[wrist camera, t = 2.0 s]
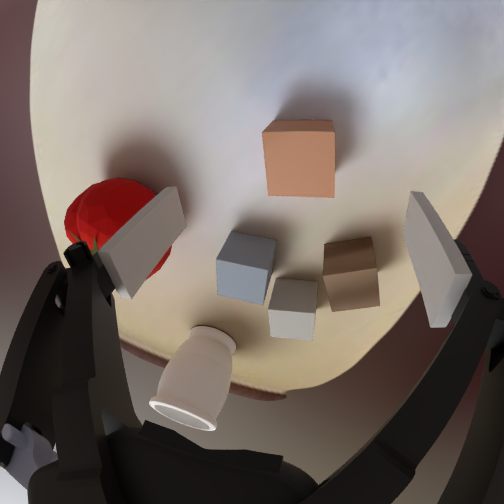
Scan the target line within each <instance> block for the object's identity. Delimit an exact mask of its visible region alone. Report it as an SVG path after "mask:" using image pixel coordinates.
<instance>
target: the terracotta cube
mask: <svg viewBox="0 0 504 504" xmlns="http://www.w3.org/2000/svg"><path fill="white" fill-rule="evenodd" d="M262 138H263V148H264V158H265V168H266V178H267V189H268V196H300V197H328V198H334V190H335V131H334V126H333V122H332V120H275V121H272V122H271V123H270V124H269V125H268V127H267V128H266V129H265V130H264V131H263V132H262Z"/></svg>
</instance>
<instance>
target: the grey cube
mask: <svg viewBox="0 0 504 504" xmlns="http://www.w3.org/2000/svg"><path fill="white" fill-rule="evenodd" d="M317 292H318V281H306V280H291V279H278V278H276V280H275V284H274V288H273V292H272V296H271V300H270V303H269V307H268V315H269V325H270V335H271V337H278V338H288V339H298V340H310V341H313V333H314V324H315V315H316V304H317Z"/></svg>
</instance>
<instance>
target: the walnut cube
mask: <svg viewBox="0 0 504 504" xmlns="http://www.w3.org/2000/svg"><path fill="white" fill-rule="evenodd" d="M323 279H324V283H325V286H326V290H327V294H328V298H329V302H330V306H331V310H332V312H336V311H344V310H353V309H360V308H368V307H375V306H380V299H379V285H378V274H377V265H376V260H375V254H374V249H373V244H372V239H371V237H365V238H359V239H353V240H347V241H341V242H335V243H329V244H324V263H323Z"/></svg>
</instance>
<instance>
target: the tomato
mask: <svg viewBox="0 0 504 504" xmlns="http://www.w3.org/2000/svg"><path fill="white" fill-rule="evenodd" d="M155 196H156V195H155V194H154V193H153V191H151V190H150V189H149V188H147V187H146V186H144V185H142V184H140V183H138V182H136V181H132V180H127V179H123V178H115V179H109V180H105V181H102V182H100V183H96V184H93V185H91V186H90V187H89V188H88V189H86V190H85V191H84V192H83V193H82V194H80V195H79V196H78V197H77V198H76V199H75V200H74V201H73V203H72V204H71V205H70V206H69V208H68V209H67V212H66V216H65V220H64V225H65V230H66V235H67V237H68V238H69V240H70V241H71V242H72V243H73V244H74V243H76V242H79V241H86V243H87V245H88V247H89V249H90V251H91V253H92V256H93V255H94V254H95V253H96V252H97V251H98V250H99V249H100V248H101V247H102V246H103V245H104V244H105V243H106V242H107V241H108V240H109V239H110V238H111V237H112V236H113V235H114V234H115V233H116V232H117V231H118V230H119V229H120V228H121V227H122V226H124V225H125V224H126V223H127V222H128V221H129V220H130V219H131V218H132V217H133V216H134V215H135V214H136V213H137V212H138V211H140V210H141V209H142V208H143V207H144V206H145V205H146V204H147V203H148V202H150V201H151V200H152V199H153V198H154V197H155ZM171 248H172V245H171V247H170V248H169V249H168V250H167V252H166V253H165V254H164V256H163V257H162V258H161V260H160V261H159V262H158V264H157V265H156V266H155V268H154V269H153V270H152V272H151V273H150V274H149V276H148V277H147V278H146V280H147V279H148V278H149V277H150V276H152V275H153V274H154V273H156V272H157V271H158V270H160V269H161V267H162V266H163V264H164V263H165V261H166V260H167V258H168V257H169V255H170V252H171Z"/></svg>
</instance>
